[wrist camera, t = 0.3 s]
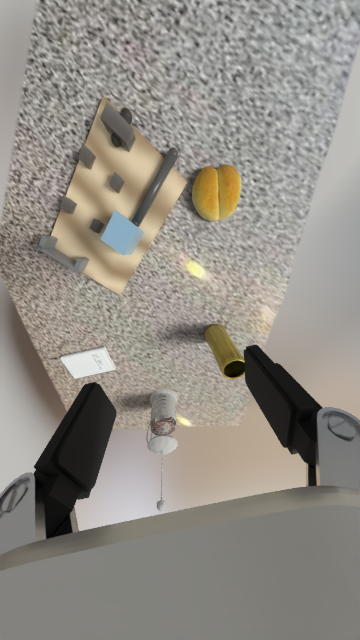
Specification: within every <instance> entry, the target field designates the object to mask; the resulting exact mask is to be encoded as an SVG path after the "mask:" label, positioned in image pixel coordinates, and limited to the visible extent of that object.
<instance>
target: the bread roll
mask: <svg viewBox="0 0 360 640" xmlns="http://www.w3.org/2000/svg"><path fill="white" fill-rule="evenodd" d="M240 191H241V177H240V176H239V173H238V171H237V170H236V169H235V168H234V167H233V166H231V165H222V166H220V167H218V168H217V169H214V168H213V167H210V166H208V167H205V168H203V169H202V170H201V171H200V173H199V174H198V176H197V177H196V180H195V182H194V185H193V189H192V201H193V204H194V207H195V209H196V211H197V212H198V214H199V215H200V216H201V217H202V218H204V219H206V220H208V221H212V222H214V221H219V220H224V219H226V218H228V217H229V216H230V215H232V214H233V213H234V211H235V209H236V207H237V204H238V201H239V198H240V195H241V193H240Z"/></svg>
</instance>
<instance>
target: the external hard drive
mask: <svg viewBox="0 0 360 640" xmlns="http://www.w3.org/2000/svg"><path fill="white" fill-rule="evenodd" d="M60 359H61V361H62V362H63V364H64V365H65V366H66V368H67V369H68V370H69V372H70V373H71V375H72V376H73V377H74V378H80V377H84V376H89V375H93V374H98V373H102V372H106V371H111V370H115V369H116V367H115V365H114V363H113V361H112V359H111V358H110V355H109V353H108V351H107V349H106V348H105V346H103V347H99V348H94V349H90V350H85V351H81V352H76V353H72V354H67V355H63V356H61V357H60Z"/></svg>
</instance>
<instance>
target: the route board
mask: <svg viewBox="0 0 360 640" xmlns="http://www.w3.org/2000/svg"><path fill="white" fill-rule="evenodd" d="M131 122H132V115H131V112H130V111H129V109H127V108H123V109H122V110H121V113H120V112H119V111H118V110H117V109H116V108H115V107H114V106H113V105H112V104H111V103H110V102H109V101H108V100H107V99H106V98H105V97H104V96H103V98H102V100H101V103H100V106H99V108H98V111H97V114H96V116H95V119H94V122H93V124H92V127H91V130H90V132H89V135H88V138H87V140H86V143H85V145H84V144H82V147H81V150H80V153H79V155H78V158H79V162H78V164H77V167H76V170H75V172H74V175H73V178H72V180H71V183H70V186H69V188H68V191H67V194H66V196H63V198H62V201H61V204H60V208H61V210H60V212H59V215H58V218H57V220H56V223H55V226H54V228H53V231H52V234H51V236H54V237H56V238H58V240H57V243H56V245H55V249H57V250H59V251H60V252H62V253H63V254H65V255H67V256H68V257H70V258H71V259H73V260H75V261H76V262H77V259H78V258H81V257H87V258H88V259H90V260H89V262H88V264H87V266H86V268H85V270H84V271H81V272H82V273H84V274H85V275H87V276H89V277H90V278H92V279H94V280H95V281H97V282H99V283H100V284H102V285H103V286H105V287H107V288H108V289H110V290H112V291H113V292H115V293H116V294H118V295H120V294H121V292H122V290H123V289H124V287H125V285H126V284H127V282H128V280H129V279H130V277H131V275H132V274H133V272H134V270H135V269H136V267H137V266H138V264H139V262H140V261H141V259H142V257H143V256H144V254H145V252H146V251H147V249H148V247H149V246H150V244H151V242H152V241H153V239H154V237H155V236H156V234H157V232H158V231H159V229H160V227H161V226H162V224H163V222H164V221H165V219H166V218H167V216H168V214H169V213H170V211H171V209H172V208H173V206H174V204H175V203H176V201H177V199H178V198H179V196H180V194H181V193H182V191H183V189H184V188H185V186H186V184H187V181H186V180H185V179H184V178H183V177H182V176H181V175H180V174H179V173H178V172H177V171H176V170H175V169H174V168H173V167H172V169H171V170H170V172H169V174H168V176H167V178H166V179H165V181H164V183H163V185H162V187H161V188H160V190H159V192H158V194H157V195H156V197H155V199H154V201H153V203H152V204H151V206H150V208H149V210H148V212H147V213H146V215H145V217H144V219H143V221H142V222H141V224H140V226H139V227H138V228H140V229H141V230H142V231H143V232H144V234H143V236H142V238H141V239H140V241H139V243H138V244H137V246H136V248H135V250H134V251H133V253H132V254H130V255H124V256H123V255H122V254H120V253H119V252H118V251H116V250H115V249H113V248H112V247H110V246H109V245H108V244H106V243H105V242H103V241H102V240H101V237H102V235H103V233H104V231H105V229H106V227H107V225H108V223H109V221H110V219H111V217H112V215H113V213H114V211H115V210H117V211H118V212H119V213H121V214H122V215H123V216H125V217H126V218H127V219H129V220H130V221H131V222H132V219H133V217H134V215H135V213H136V211H137V209H138V208H139V206H140V204H141V202H142V200H143V198H144V196H145V194H146V193H147V191H148V189H149V187H150V185H151V183H152V181H153V179H154V178H155V176H156V174H157V172H158V170H159V168H160V166H161V164H162V163H163V161H164V159H165V158H164V157H163V156H162V155H161V154H160V153H159V152H158V151H157V150H156V149H155V148H154V147H153V146H152V145H151V144H150V143H149V142H148V141H147V140H146V139H145V138H144V137H143V136H142V135H141V134H140V133H139V132H138V131H137V130H136V129H135V128H134V127H133V126H132V125H131Z"/></svg>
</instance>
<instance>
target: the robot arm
mask: <svg viewBox="0 0 360 640" xmlns="http://www.w3.org/2000/svg"><path fill="white" fill-rule="evenodd" d="M244 364H245V381H246V384H247V386H248V388H249V390H250V392H251V393H252V395H253V396H254V398H255V400H256V402H257V403H258V405H259V407H260V409H261V410H262V412H263V414H264V415H265V417H266V419H267V420H268V422H269V424H270V425H271V427H272V429H273V430H274V432H275V434H276V436H277V437H278V439H279V441H280V443H281V444H282V446H283V447H285V448H288V450H289V451H290V453H291V454H296V453H299V455H300V456H301V458H302V459H303V460H304V462H306V487H300V488H292V489H287V490H281V491H275V492H270V493H264V494H259V495H253V496H249V497H244V498H238V499H233V500H229V501H224V502H218V503H213V504H209V505H204V506H199V507H194V508H189V509H184V510H179V511H175V512H170V513H165V514H160V515H155V516H150V517H145V518H140V519H136V520H131V521H126V522H121V523H117V524H112V525H107V526H102V527H98V528H93V529H89V530H84V531H79V530H78V524H77V519H76V513H75V508H74V505H75V502H76V500H77V499H84V498H88V497H89V495H90V492H91V489H92V488H93V487H94V485H95V483H96V480H97V476H98V473H99V470H100V467H101V463H102V460H103V457H104V454H105V450H106V447H107V444H108V441H109V437H110V434H111V431H112V428H113V424H114V421H115V418H116V409H115V408H114V406H113V405H112V403H111V402H110V400H109V399H108V397H107V395H106V394H105V392H104V391H103V389H102V388H101V386H100V385H99V384H97V383H96V382H93V383H89V384H85V385H84V386H83V388H82V389H81V391H80V392H79V394H78V396H77V397H76V399H75V401H74V402H73V404H72V405H71V407H70V409H69V410H68V412H67V414H66V415H65V417H64V419H63V420H62V422H61V423H60V425H59V427H58V428H57V430H56V431H55V433H54V435H53V436H52V438H51V440H50V441H49V443H48V445H47V446H46V448H45V449H44V451H43V453H42V454H41V456H40V458H39V459H38V461H37V462H36V464H35V466H34V468H35V469H36V471H35V472H34V474H33V473H25V474H23V475H21V476H20V477H18V478H16V479H15V480H14V481H13V482H12V483H10V484H9V485H8V486H7V487H6V488H5V489H4V491H3V492H2V493H1V494H0V640H360V420H359V419H357V418H356V417H355V416H353V415H351V414H350V413H348V412H345V411H343V410H341V409H337V408H332V407H328V408H327V407H325V408H322V407H321V406H320V405H319V404H318V403H317V402H316V401H315V400H314V399H313V398H312V397H311V396H310V395H309V394H308V393H307V392H306V391H305V390H304V389H303V388H302V386H301V385H300V384H299V383H298V382H297V381H296V380H295V379H293V377H292V376H291V375H290V374H289V373H288V372H287V371H286V370H285V369H284V368H283V367H282V366H281V365H280V364H278V363H274V362H273V361H272V360H271V359H270V358H269V357H268V356H267V355H266V354H265V353H264V352H263V351H262V350H261V349H260V348H259V346H257V345H252V346H248V347H246V350H244Z"/></svg>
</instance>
